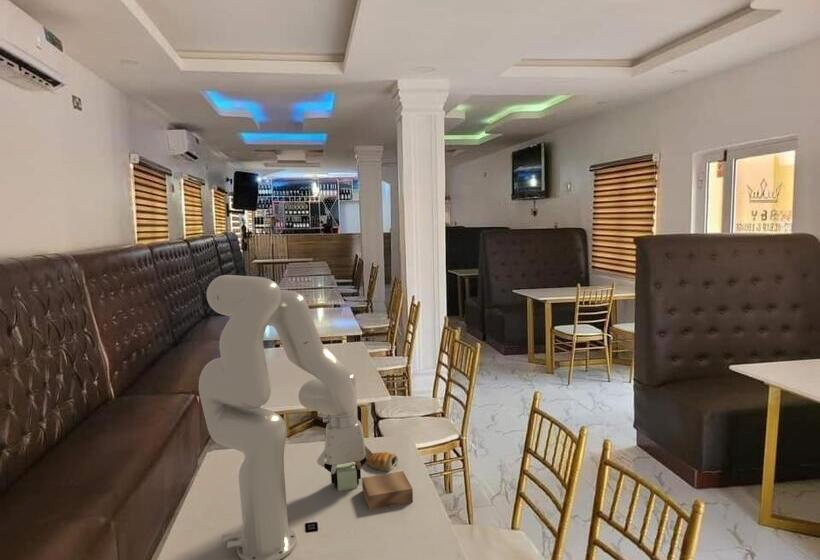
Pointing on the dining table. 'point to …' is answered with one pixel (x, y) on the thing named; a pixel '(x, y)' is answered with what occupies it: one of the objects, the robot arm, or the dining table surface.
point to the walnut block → (387, 490)
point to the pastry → (382, 461)
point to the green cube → (346, 476)
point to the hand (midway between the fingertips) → (346, 482)
